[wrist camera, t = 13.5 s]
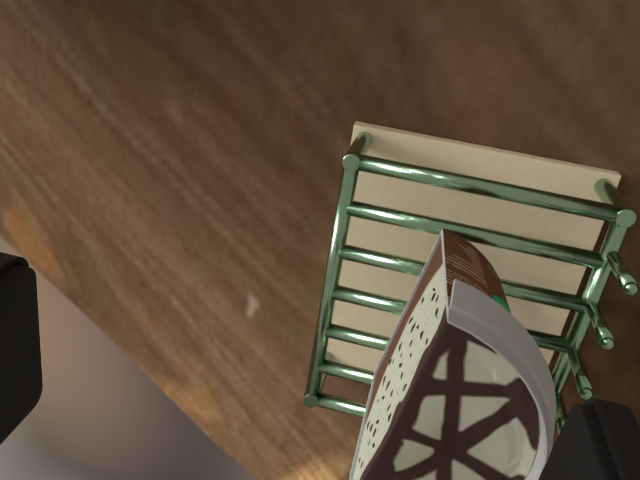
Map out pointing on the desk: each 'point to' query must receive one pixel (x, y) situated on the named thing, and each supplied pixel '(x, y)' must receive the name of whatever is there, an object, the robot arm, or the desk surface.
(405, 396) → the food container
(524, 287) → the dish rack
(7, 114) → the desk surface
